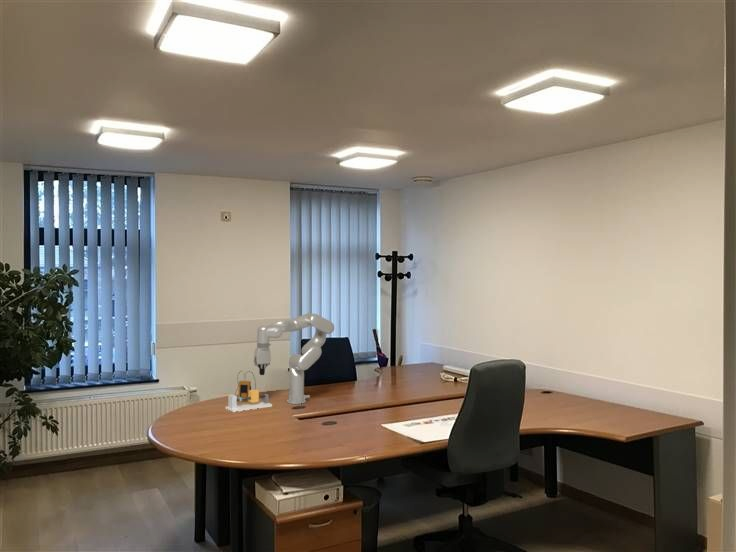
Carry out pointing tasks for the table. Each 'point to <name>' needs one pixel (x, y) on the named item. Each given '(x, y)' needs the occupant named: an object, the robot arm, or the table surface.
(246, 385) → the multimeter
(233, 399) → the board
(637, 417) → the table surface
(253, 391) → the sleeve
